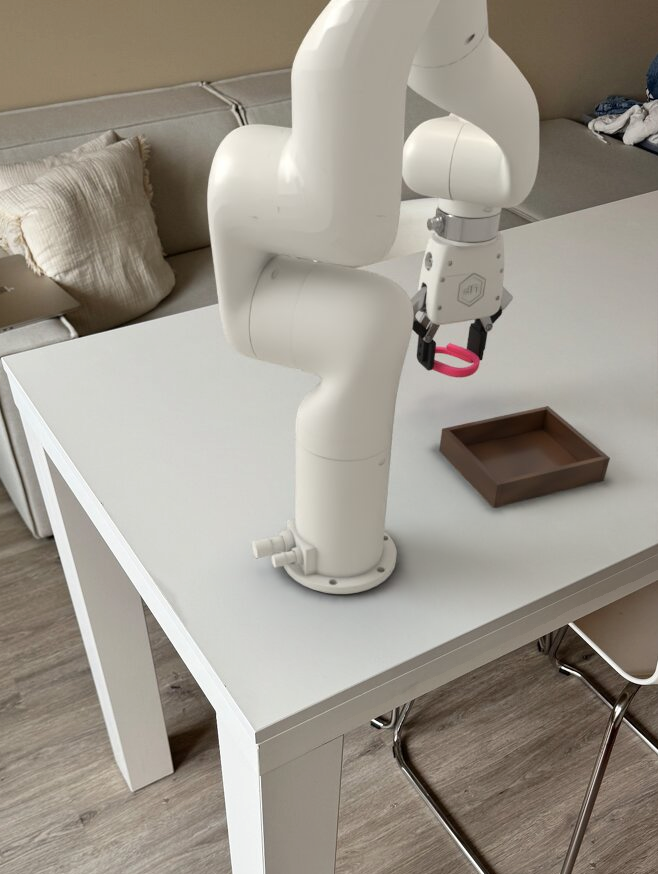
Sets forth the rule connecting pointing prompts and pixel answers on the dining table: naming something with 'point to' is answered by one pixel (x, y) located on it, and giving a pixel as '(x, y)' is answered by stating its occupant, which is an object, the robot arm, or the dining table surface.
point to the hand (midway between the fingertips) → (450, 360)
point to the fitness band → (461, 354)
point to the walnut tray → (522, 456)
